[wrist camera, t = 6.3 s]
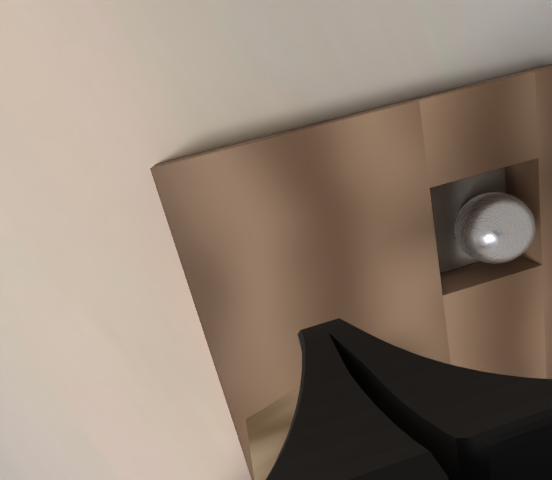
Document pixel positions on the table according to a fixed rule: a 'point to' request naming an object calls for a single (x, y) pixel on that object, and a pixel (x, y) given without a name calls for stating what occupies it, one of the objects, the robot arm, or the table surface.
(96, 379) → the table surface
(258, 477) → the pale gold metal block
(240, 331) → the board
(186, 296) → the table surface
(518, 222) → the ball
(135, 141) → the table surface
